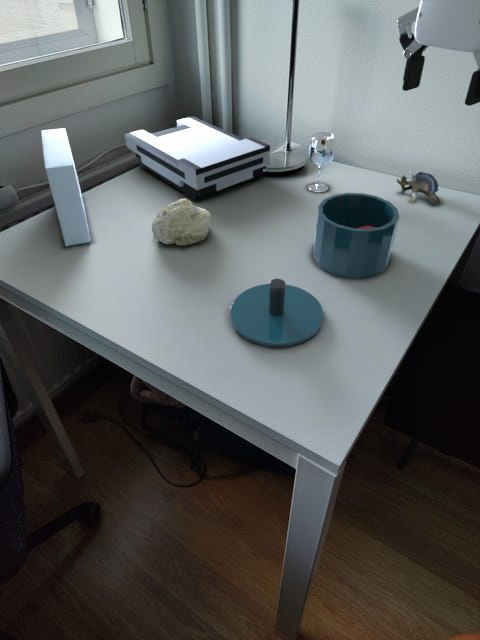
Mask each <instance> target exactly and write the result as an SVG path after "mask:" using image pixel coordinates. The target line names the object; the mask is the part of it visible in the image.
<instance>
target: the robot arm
mask: <svg viewBox="0 0 480 640" xmlns="http://www.w3.org/2000/svg"><path fill="white" fill-rule="evenodd" d="M413 23H415V26H414V33H413V31H412V30H413V29H412V27H413ZM396 24H397V25H396V26H397V30H398V35H399V39H398V40H399V43H400V46H401V47H402V49H403V57H404V59H406V62H405V67H404V72H403V77H402V81H403V84H402V87H401V89H402V91H404V92H407V91H411V90H414V89H417V88H419V87H420V85H421V80H422V76H423V70H424V65H425V61H426V56H425V55H423V53H425V51H426V50H427V49H428V48H429V47H433V48H439V49H445V50H452V51H458V52H466V53H472V55H473V58H474V60H475V63H476V65H477V70H475V71H473V72H472V74H471V77H470V81H469V86H468V88H467V93H466V97H465V100H464V104H465V106H469V107H471V106H474V105H476V104H479V103H480V0H420V1H419V6H417V7H416V8H414V9H412V10H410V11H408V12H407V13H405V14H403V15H401V16H399V17H398V18H397V20H396Z"/></svg>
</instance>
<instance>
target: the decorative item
mask: <svg viewBox="0 0 480 640" xmlns="http://www.w3.org/2000/svg"><path fill="white" fill-rule="evenodd" d="M211 219H212V215H211V212H209V211H208V210H207V209H206V208H203V207H199V206H197V205H194V204H193V203H192V201H190V200H189V199H188V198H185V197H184V198H180V199H178V200H176V201H174V202H171V203H170V204H168V205H166V206H164V207H163V208H162V209H161V210H160V211H159V212H158V213H156V215H155V217H154V218H153V221H152V223H151V232H152V235H153V236H152V237H153V238H154V239H155V240H157V241H159V242H161V243H162V244H166V245H171V244H175V245H176V246H187V245H192V244H196V243H199V242H201V241H203V240H205V239H206V238H207V237H208V235H209V233H210V231H211V223H212V220H211Z"/></svg>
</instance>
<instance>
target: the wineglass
mask: <svg viewBox="0 0 480 640" xmlns="http://www.w3.org/2000/svg"><path fill="white" fill-rule="evenodd" d="M335 155H336V138H335V135H334V134H333V133H331V132H325V131H319V132H315V133H313V134H312V136H311V140H310V143H309V147H308V158H309V161H310V162H311V163H313V164H314V165H316V166H318V167H317V173H318V175H317V176H318V177H317V183H312V184H310V185H308V189H309V190H310V192H314V193H324V192H327V191H328V190H329V187H328V185H326V184H324V183H321V177H322V176H321V175H322V172H323V166H326V165H329V164H330V163H331V162H332V161H333V160H334V158H335Z"/></svg>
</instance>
